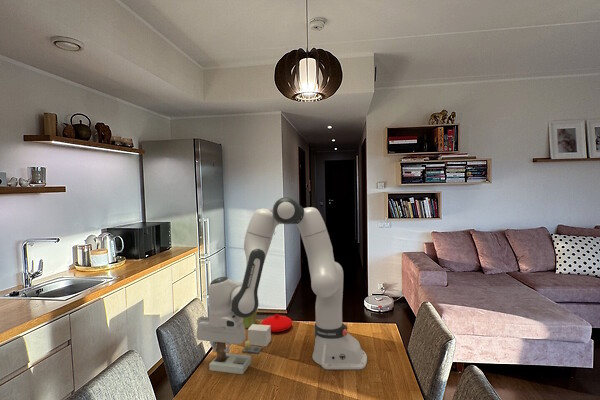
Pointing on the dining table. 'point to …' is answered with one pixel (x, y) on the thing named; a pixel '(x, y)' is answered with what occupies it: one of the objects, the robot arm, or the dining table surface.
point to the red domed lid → (277, 323)
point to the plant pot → (250, 320)
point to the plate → (251, 348)
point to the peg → (221, 351)
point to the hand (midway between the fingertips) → (221, 351)
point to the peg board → (231, 364)
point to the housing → (259, 334)
